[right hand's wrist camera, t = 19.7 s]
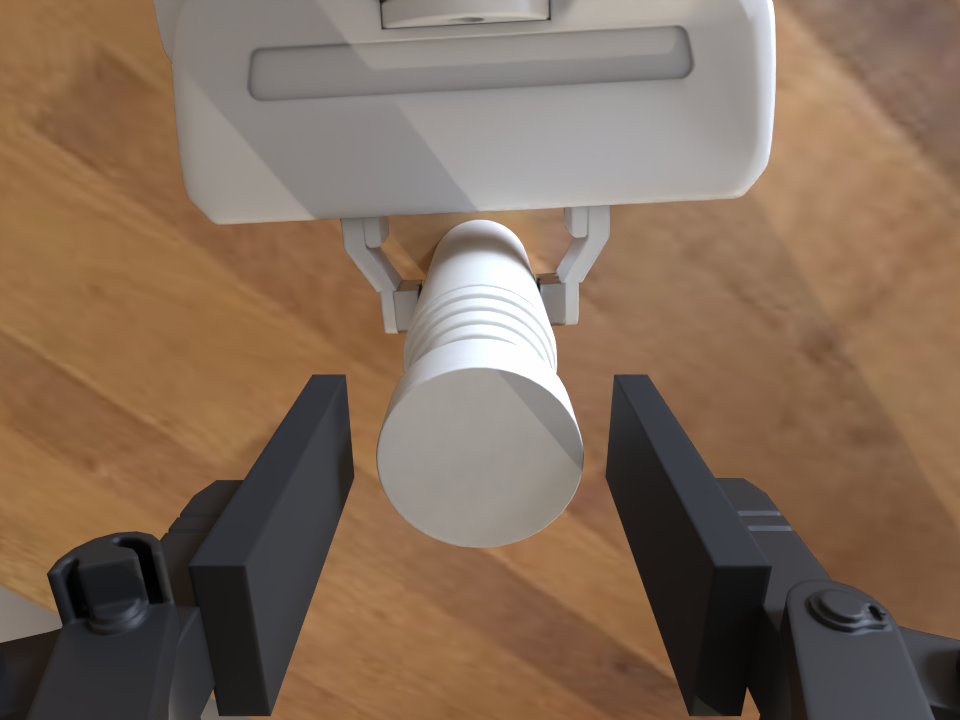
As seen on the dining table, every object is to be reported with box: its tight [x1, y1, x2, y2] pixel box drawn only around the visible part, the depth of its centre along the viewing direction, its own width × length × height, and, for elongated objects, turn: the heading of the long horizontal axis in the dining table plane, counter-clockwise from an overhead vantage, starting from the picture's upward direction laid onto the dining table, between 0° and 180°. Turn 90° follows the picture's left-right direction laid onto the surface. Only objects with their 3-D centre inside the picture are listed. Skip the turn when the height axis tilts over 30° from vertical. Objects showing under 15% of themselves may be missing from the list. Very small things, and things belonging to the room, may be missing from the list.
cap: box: [376, 339, 584, 548], centre depth 14 cm, size 4×4×2 cm
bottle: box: [403, 220, 557, 374], centre depth 22 cm, size 5×5×18 cm
